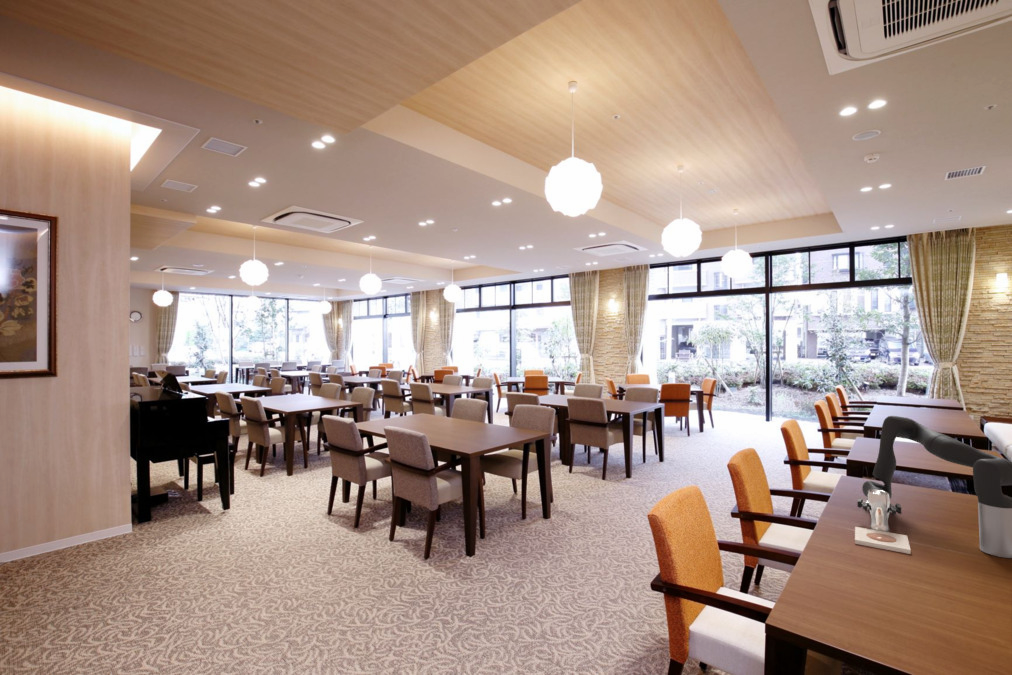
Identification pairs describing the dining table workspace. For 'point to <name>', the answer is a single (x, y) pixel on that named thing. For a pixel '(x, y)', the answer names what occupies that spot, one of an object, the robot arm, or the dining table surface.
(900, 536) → the ceramic tile
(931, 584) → the dining table surface
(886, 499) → the shiny silver metal cup
